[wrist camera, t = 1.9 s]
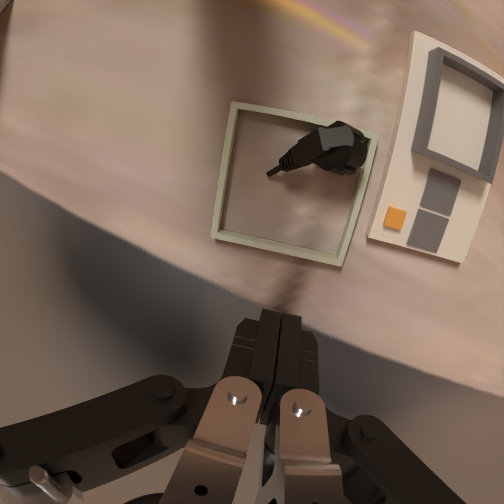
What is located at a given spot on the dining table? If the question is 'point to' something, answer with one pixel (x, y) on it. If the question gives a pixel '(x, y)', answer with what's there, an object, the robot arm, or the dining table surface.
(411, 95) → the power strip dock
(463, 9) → the dining table surface
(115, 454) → the robot arm
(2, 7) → the string lights box
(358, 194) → the pick tray
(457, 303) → the dining table surface
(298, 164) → the power plug
